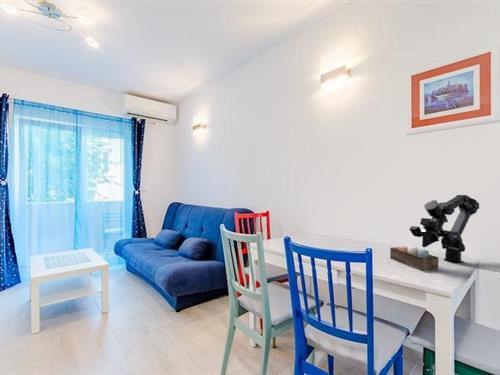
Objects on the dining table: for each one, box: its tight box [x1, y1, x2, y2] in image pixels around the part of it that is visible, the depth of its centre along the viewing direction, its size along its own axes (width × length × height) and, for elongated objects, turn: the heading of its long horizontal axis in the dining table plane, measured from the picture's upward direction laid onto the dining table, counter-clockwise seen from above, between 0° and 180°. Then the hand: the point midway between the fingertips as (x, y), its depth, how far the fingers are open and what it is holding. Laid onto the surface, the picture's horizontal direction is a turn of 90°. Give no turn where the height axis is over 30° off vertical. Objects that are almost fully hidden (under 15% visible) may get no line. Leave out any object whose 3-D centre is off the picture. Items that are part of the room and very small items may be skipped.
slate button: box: [418, 249, 430, 257], centre depth 130 cm, size 4×4×5 cm
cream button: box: [407, 246, 419, 254], centre depth 137 cm, size 4×4×5 cm
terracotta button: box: [397, 245, 408, 250], centre depth 144 cm, size 4×4×5 cm
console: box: [389, 246, 439, 271], centre depth 137 cm, size 9×22×6 cm, turn 9°
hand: (423, 246), depth 130 cm, fingers closed
